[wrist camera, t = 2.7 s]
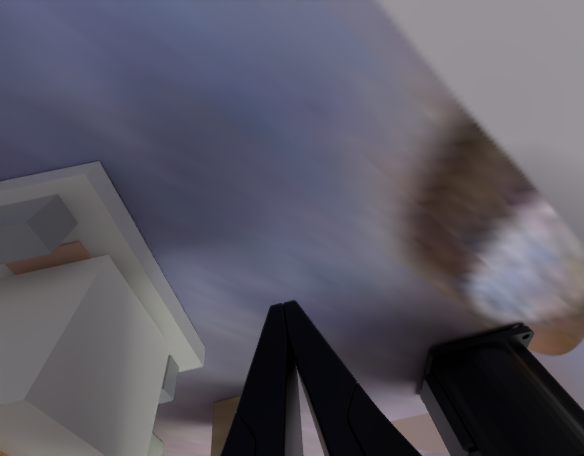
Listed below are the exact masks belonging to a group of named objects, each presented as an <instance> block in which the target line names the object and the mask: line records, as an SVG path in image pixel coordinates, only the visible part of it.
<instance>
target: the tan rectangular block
mask: <svg viewBox="0 0 584 456" xmlns="http://www.w3.org/2000/svg"><path fill="white" fill-rule="evenodd" d="M239 400H240V396H238V397H234V398H230V399H226V400H222V401H218V402H214V412H213V428H212V444H211V456H220V454H221V452H222V449H223V446H224V443H225V441H226V438H227V435H228V432H229V430H230V427H231V424H232V420H233V417H234V414H235V413H237V412H236V409H237V406H238V403H239Z"/></svg>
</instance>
